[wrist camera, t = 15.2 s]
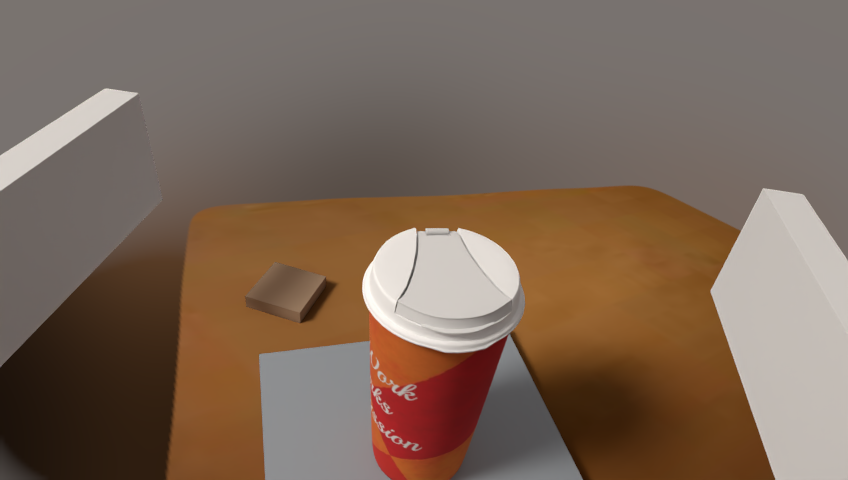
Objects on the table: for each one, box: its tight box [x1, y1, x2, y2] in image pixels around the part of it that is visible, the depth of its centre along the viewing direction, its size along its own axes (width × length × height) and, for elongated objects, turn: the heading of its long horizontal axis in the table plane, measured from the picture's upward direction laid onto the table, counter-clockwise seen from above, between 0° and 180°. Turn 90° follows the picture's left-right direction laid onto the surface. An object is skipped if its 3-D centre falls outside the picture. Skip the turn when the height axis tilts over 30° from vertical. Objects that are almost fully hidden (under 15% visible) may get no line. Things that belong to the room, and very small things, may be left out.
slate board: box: [259, 334, 583, 480], centre depth 35 cm, size 18×18×1 cm
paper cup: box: [362, 228, 525, 480], centre depth 31 cm, size 8×8×14 cm
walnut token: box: [245, 262, 326, 323], centre depth 46 cm, size 4×4×2 cm
